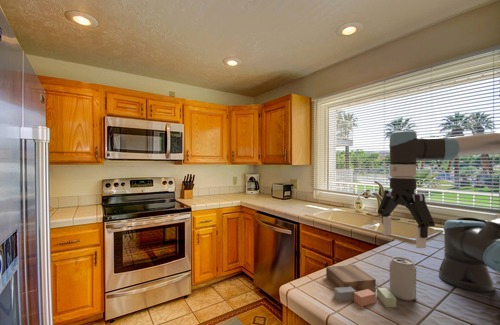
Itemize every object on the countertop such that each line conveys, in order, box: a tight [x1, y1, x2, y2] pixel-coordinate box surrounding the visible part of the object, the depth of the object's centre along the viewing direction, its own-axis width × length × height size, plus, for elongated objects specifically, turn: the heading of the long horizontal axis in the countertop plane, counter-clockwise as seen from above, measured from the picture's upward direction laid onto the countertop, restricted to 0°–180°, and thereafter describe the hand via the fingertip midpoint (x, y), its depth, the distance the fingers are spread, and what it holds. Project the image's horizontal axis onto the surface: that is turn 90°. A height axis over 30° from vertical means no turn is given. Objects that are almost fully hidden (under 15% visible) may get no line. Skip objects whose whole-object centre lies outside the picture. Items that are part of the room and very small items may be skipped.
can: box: [389, 256, 417, 302], centre depth 78 cm, size 8×8×12 cm
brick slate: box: [333, 286, 356, 303], centre depth 76 cm, size 6×3×3 cm, turn 102°
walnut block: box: [325, 264, 377, 292], centre depth 86 cm, size 12×12×4 cm
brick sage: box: [376, 287, 397, 308], centre depth 75 cm, size 6×3×3 cm, turn 176°
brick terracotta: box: [353, 289, 377, 307], centre depth 74 cm, size 6×3×3 cm, turn 111°
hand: (402, 240), depth 78 cm, fingers open, 13 cm apart
